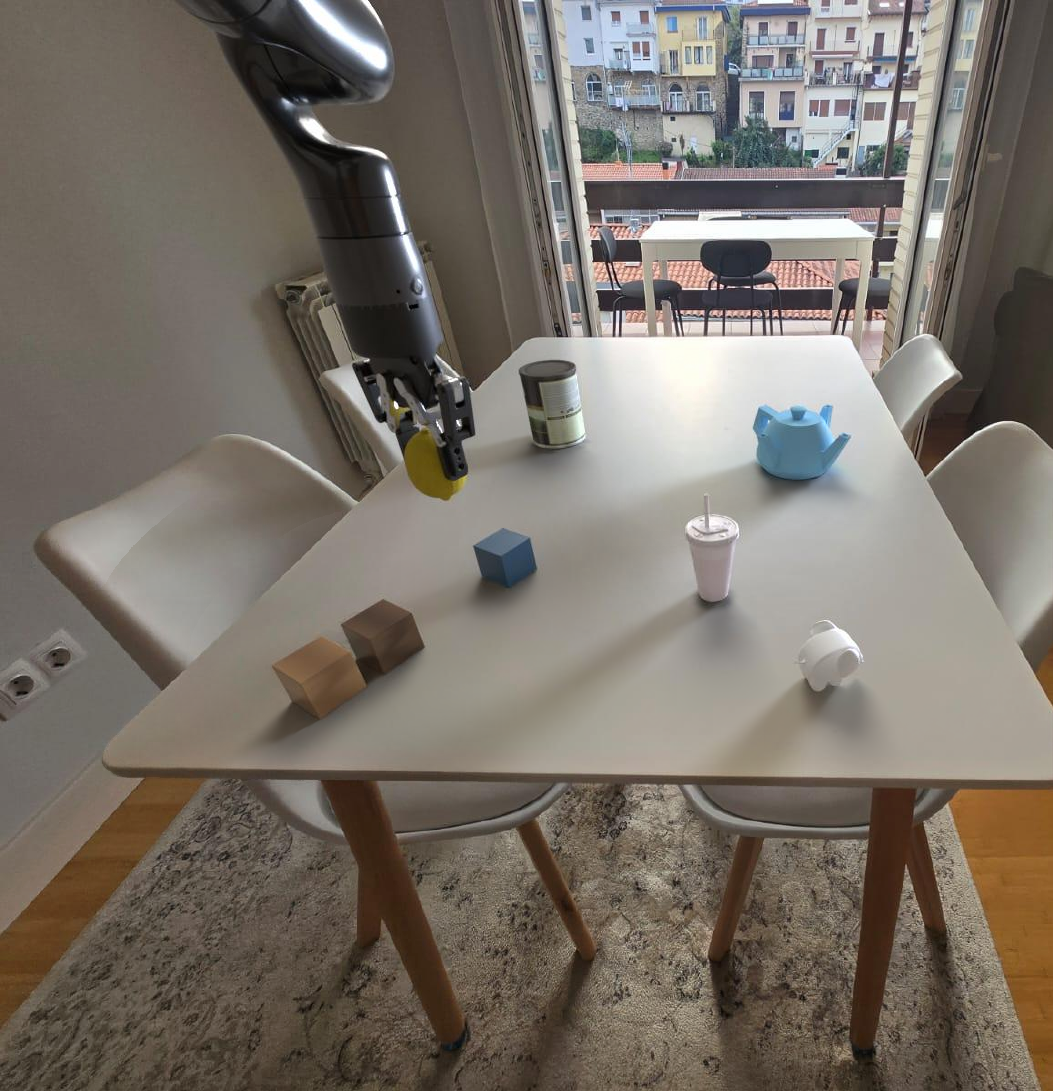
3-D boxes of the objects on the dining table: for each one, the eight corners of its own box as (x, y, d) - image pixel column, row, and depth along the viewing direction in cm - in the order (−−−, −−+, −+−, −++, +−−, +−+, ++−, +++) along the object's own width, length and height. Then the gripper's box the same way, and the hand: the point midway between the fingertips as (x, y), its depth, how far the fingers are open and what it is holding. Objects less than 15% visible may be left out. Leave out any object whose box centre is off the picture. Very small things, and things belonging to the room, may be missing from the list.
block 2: (384, 674, 64) (369, 639, 61) (356, 658, 66) (340, 624, 63) (425, 646, 67) (411, 612, 65) (396, 632, 70) (383, 598, 67)
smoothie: (693, 575, 78) (688, 480, 71) (741, 579, 78) (742, 483, 70) (683, 606, 73) (677, 506, 65) (735, 610, 72) (735, 510, 65)
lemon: (462, 513, 60) (441, 439, 56) (408, 513, 60) (382, 439, 56) (483, 487, 65) (464, 417, 60) (432, 487, 65) (410, 417, 60)
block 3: (508, 588, 76) (500, 556, 74) (481, 577, 79) (472, 545, 76) (537, 568, 80) (530, 537, 77) (510, 558, 82) (502, 527, 80)
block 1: (320, 719, 59) (299, 683, 56) (291, 700, 61) (270, 665, 58) (367, 686, 62) (350, 651, 60) (338, 670, 64) (321, 635, 62)
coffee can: (524, 448, 114) (509, 375, 106) (543, 428, 122) (530, 359, 115) (576, 450, 113) (565, 376, 105) (592, 429, 121) (582, 359, 114)
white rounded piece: (876, 690, 61) (884, 647, 58) (806, 712, 59) (810, 668, 56) (843, 648, 67) (848, 606, 63) (778, 666, 64) (780, 624, 61)
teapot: (831, 447, 113) (836, 391, 107) (847, 483, 100) (853, 422, 94) (751, 448, 113) (752, 393, 107) (756, 485, 100) (757, 424, 94)
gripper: (292, 292, 51) (360, 469, 61) (396, 310, 45) (454, 503, 55) (373, 279, 57) (424, 443, 66) (475, 293, 51) (516, 471, 60)
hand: (437, 470), depth 60 cm, fingers closed on lemon, 5 cm apart
